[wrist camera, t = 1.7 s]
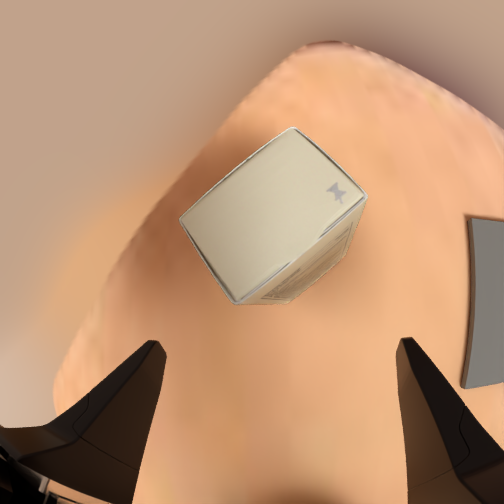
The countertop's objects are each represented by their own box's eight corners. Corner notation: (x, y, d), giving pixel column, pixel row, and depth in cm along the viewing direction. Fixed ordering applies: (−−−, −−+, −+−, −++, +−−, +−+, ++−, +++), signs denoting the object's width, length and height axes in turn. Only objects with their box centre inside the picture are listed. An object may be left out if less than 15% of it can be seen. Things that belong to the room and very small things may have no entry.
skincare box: (311, 214, 22) (298, 116, 10) (347, 255, 21) (378, 190, 9) (248, 265, 22) (170, 216, 11) (282, 309, 21) (233, 308, 9)
